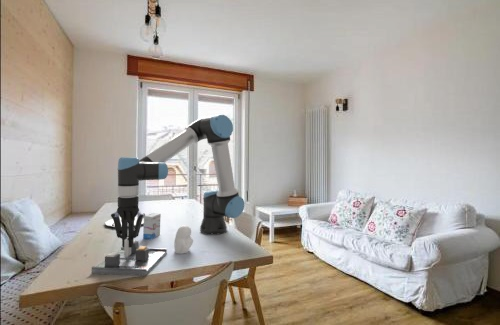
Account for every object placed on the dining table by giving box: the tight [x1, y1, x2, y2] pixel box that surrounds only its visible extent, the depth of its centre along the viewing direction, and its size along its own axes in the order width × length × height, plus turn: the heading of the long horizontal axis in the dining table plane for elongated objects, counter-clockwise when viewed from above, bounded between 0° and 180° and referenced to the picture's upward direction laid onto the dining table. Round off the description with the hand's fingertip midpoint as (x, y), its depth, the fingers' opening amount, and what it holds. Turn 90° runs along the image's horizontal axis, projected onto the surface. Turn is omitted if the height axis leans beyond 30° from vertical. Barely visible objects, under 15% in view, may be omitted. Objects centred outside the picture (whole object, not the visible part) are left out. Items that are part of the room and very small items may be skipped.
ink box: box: [142, 212, 162, 240], centre depth 139 cm, size 9×5×12 cm, turn 168°
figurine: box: [173, 224, 194, 255], centre depth 119 cm, size 7×8×12 cm
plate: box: [104, 215, 144, 228], centre depth 164 cm, size 25×25×2 cm
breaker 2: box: [131, 239, 139, 253], centre depth 113 cm, size 4×3×5 cm
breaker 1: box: [104, 251, 120, 267], centre depth 98 cm, size 4×3×5 cm
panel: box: [91, 247, 168, 277], centre depth 106 cm, size 20×21×2 cm
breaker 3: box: [136, 245, 150, 261], centre depth 105 cm, size 4×3×5 cm
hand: (127, 255), depth 106 cm, fingers closed
